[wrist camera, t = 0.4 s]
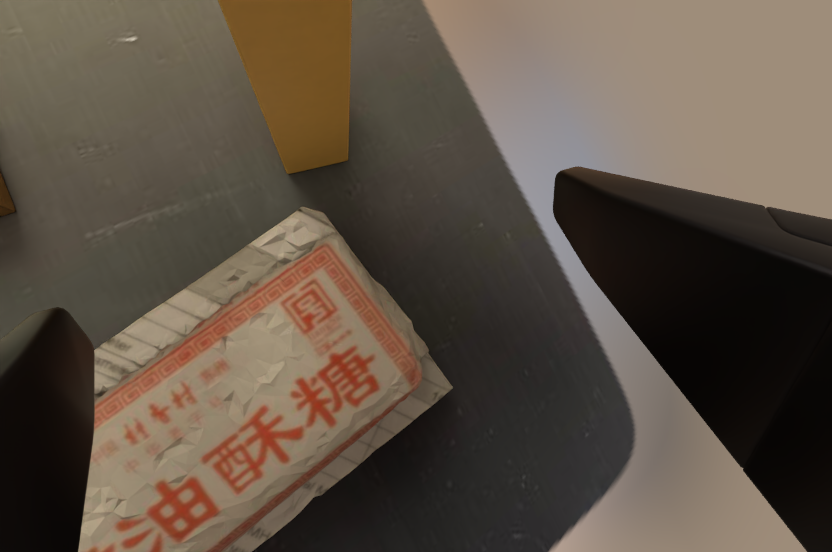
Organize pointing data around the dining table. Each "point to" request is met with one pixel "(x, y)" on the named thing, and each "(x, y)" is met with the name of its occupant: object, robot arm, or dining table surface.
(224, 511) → the packaged product
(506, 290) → the dining table surface
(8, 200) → the picture frame
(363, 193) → the dining table surface
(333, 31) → the mustard yellow box
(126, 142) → the dining table surface
